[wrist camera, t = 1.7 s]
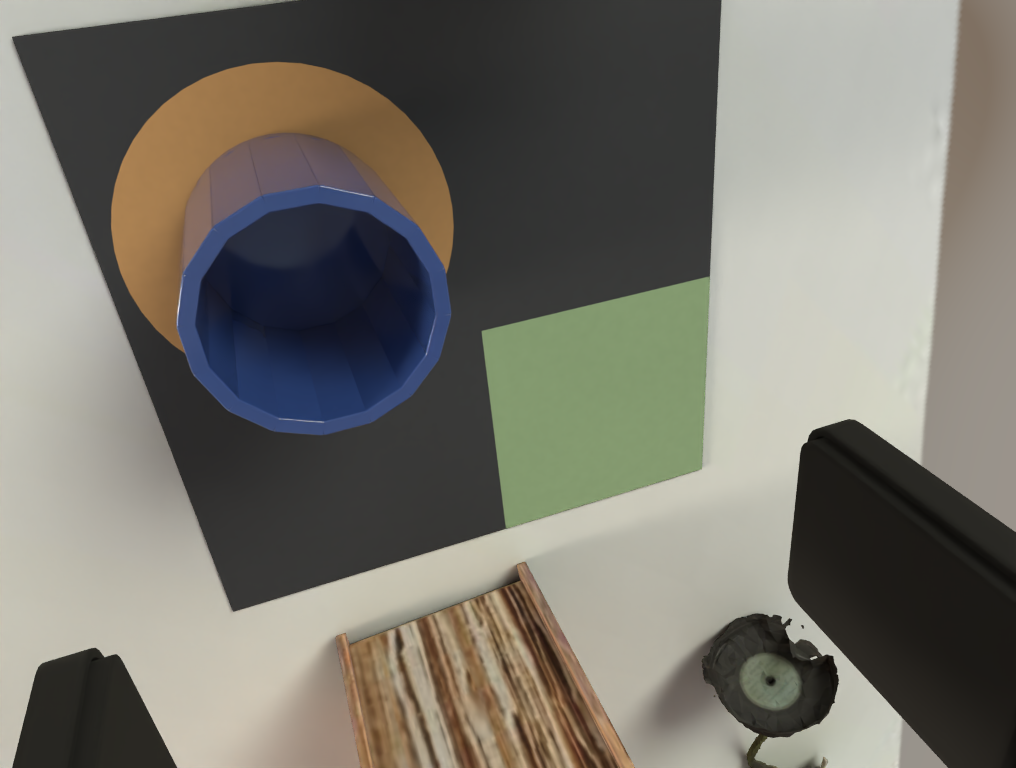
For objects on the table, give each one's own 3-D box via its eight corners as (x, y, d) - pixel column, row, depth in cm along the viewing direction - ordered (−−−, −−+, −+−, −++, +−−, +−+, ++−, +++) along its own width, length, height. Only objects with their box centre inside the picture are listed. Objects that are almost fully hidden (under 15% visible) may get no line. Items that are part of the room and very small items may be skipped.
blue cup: (217, 353, 27) (222, 462, 21) (153, 153, 24) (137, 218, 18) (411, 309, 29) (464, 399, 23) (377, 115, 25) (430, 164, 19)
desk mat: (233, 610, 32) (233, 611, 32) (12, 36, 21) (11, 37, 21) (701, 468, 38) (701, 469, 38) (722, -54, 26) (723, -53, 26)
